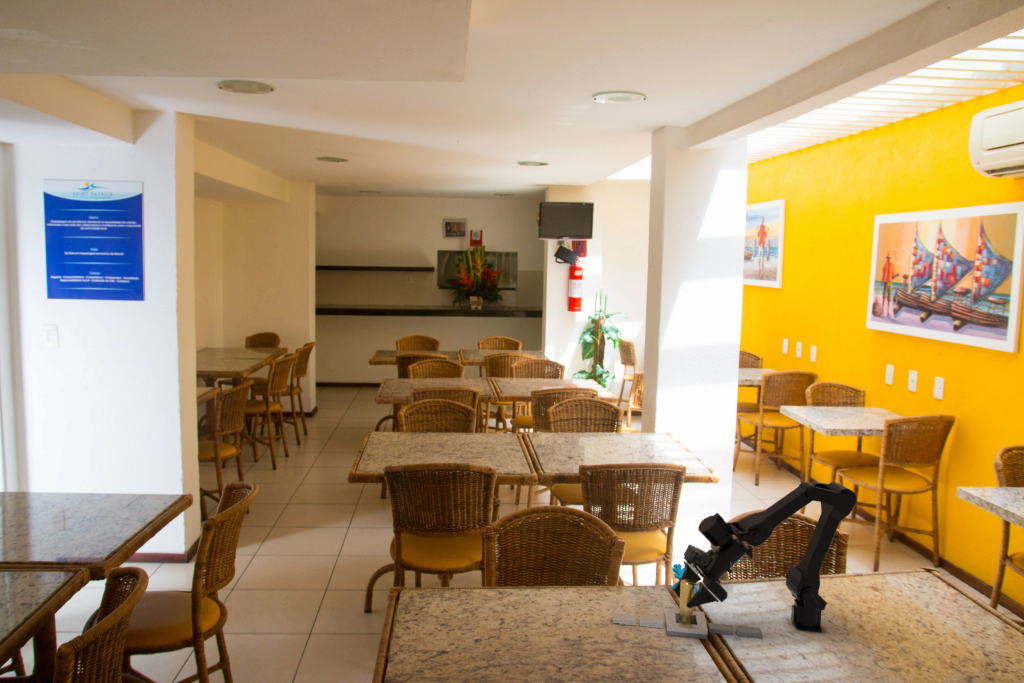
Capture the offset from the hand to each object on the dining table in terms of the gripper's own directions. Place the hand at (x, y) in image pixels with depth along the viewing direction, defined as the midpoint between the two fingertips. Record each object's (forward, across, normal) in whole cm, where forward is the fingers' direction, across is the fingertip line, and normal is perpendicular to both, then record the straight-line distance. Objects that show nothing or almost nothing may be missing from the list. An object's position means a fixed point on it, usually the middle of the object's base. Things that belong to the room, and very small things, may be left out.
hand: (681, 598), depth 184 cm
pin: (+5, 0, +7) cm, 8 cm away
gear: (0, -21, +12) cm, 24 cm away
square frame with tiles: (+5, 0, +7) cm, 8 cm away
